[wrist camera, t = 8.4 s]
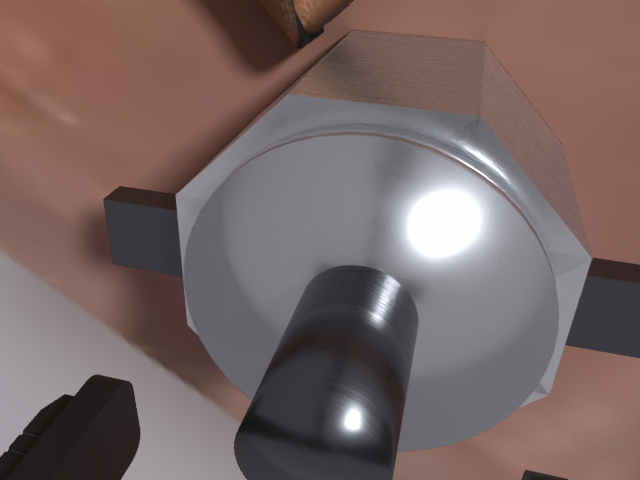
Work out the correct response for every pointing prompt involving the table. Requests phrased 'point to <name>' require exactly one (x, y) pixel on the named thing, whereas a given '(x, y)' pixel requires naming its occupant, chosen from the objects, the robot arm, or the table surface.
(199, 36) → the table surface
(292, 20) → the sunglasses case
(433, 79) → the pot
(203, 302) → the lid
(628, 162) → the table surface
